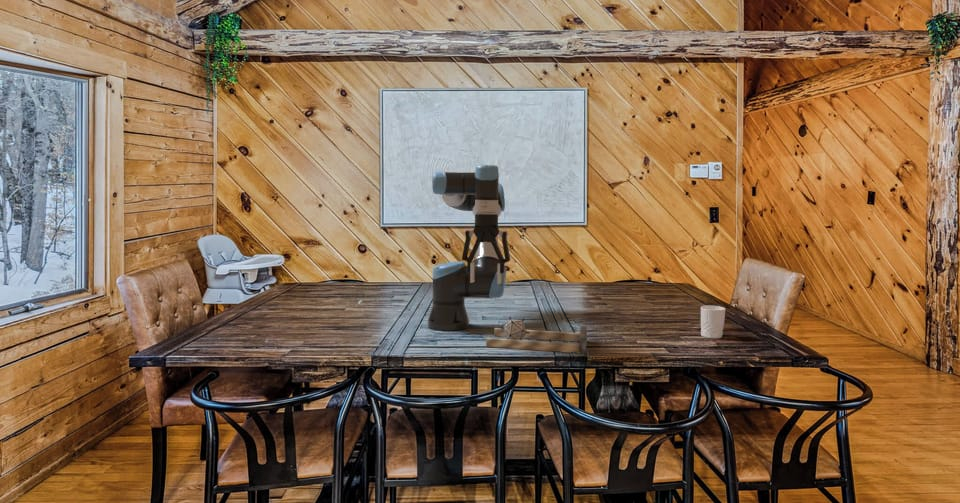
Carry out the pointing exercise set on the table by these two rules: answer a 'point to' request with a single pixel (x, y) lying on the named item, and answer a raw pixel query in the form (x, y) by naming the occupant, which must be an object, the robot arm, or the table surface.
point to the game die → (515, 329)
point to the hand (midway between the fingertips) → (485, 282)
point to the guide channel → (541, 344)
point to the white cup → (712, 321)
